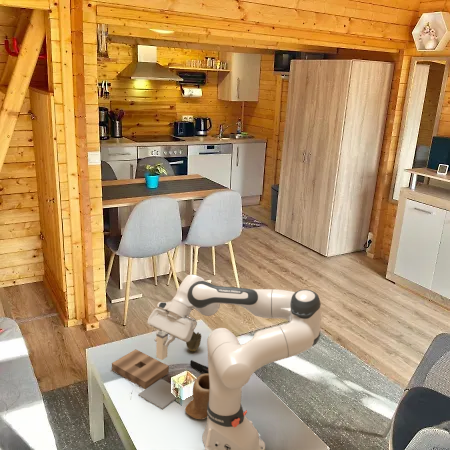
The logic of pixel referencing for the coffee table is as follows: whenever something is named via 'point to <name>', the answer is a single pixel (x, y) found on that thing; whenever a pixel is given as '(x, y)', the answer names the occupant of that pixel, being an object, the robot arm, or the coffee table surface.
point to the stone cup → (199, 398)
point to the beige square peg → (161, 345)
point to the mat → (159, 394)
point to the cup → (194, 342)
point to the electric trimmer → (199, 367)
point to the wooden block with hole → (140, 368)
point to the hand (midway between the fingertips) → (160, 343)
